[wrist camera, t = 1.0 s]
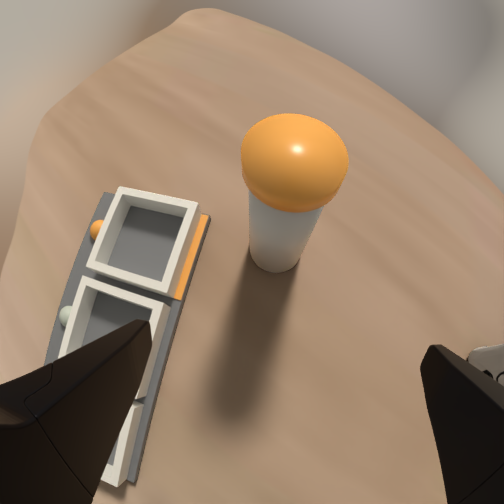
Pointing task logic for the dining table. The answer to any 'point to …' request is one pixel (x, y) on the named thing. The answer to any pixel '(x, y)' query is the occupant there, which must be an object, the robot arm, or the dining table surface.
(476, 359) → the electrical switch
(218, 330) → the dining table surface
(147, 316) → the grey compartment tray
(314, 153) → the plug
